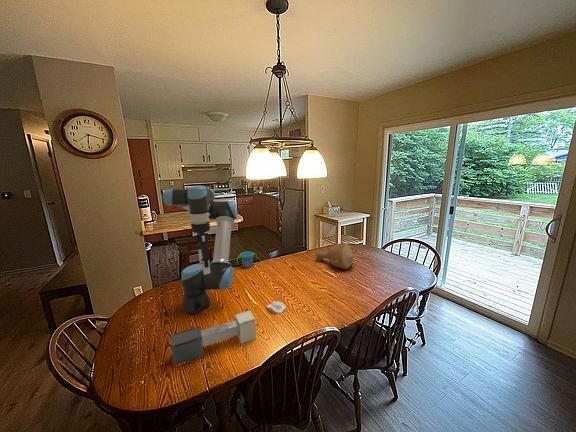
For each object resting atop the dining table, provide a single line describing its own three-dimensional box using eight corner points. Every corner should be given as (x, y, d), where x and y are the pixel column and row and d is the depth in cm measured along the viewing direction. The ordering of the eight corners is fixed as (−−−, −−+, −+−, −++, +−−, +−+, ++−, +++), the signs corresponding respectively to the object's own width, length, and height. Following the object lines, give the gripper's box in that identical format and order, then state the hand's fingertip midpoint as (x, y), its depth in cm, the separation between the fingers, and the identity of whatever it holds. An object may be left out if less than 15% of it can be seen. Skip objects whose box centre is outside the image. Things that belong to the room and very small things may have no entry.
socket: (241, 343, 103) (239, 324, 101) (236, 333, 109) (235, 314, 107) (256, 338, 106) (255, 319, 104) (250, 328, 113) (249, 310, 110)
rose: (266, 307, 122) (267, 296, 131) (266, 314, 123) (267, 304, 132) (285, 306, 122) (285, 296, 131) (285, 314, 123) (285, 303, 132)
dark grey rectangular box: (174, 367, 92) (171, 346, 89) (174, 354, 98) (171, 334, 96) (203, 356, 96) (201, 336, 94) (201, 345, 102) (199, 326, 100)
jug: (345, 261, 158) (308, 256, 177) (353, 275, 170) (317, 270, 188) (353, 238, 169) (317, 235, 187) (360, 253, 180) (325, 249, 198)
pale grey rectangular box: (196, 349, 95) (195, 339, 94) (195, 341, 100) (193, 331, 99) (250, 331, 105) (250, 321, 104) (247, 324, 110) (246, 315, 109)
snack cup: (238, 270, 174) (237, 257, 171) (236, 264, 183) (235, 252, 181) (258, 267, 178) (258, 254, 176) (256, 261, 188) (255, 250, 186)
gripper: (214, 227, 92) (218, 277, 96) (205, 215, 114) (209, 256, 118) (193, 230, 89) (199, 281, 93) (188, 217, 110) (193, 259, 115)
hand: (204, 267), depth 106 cm, fingers open, 13 cm apart
